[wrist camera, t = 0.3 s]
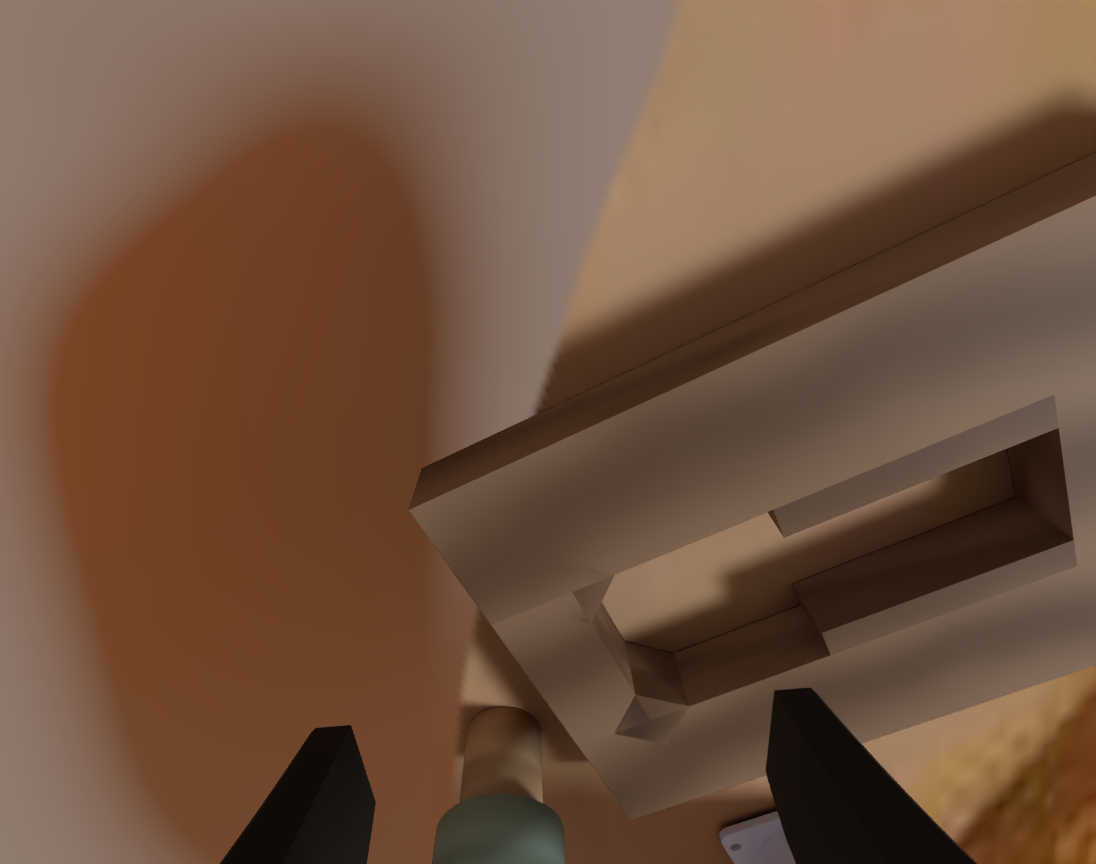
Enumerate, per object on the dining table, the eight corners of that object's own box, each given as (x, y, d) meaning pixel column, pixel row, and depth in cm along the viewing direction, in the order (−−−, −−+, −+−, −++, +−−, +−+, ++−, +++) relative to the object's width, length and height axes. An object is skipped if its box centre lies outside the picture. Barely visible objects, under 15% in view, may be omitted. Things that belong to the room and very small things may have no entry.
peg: (576, 747, 25) (592, 950, 19) (482, 780, 26) (469, 987, 20) (527, 679, 23) (527, 878, 17) (428, 717, 24) (394, 922, 18)
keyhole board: (1179, 566, 22) (1251, 613, 20) (622, 763, 26) (631, 820, 24) (1162, 120, 16) (1265, 117, 13) (421, 468, 19) (408, 510, 17)
